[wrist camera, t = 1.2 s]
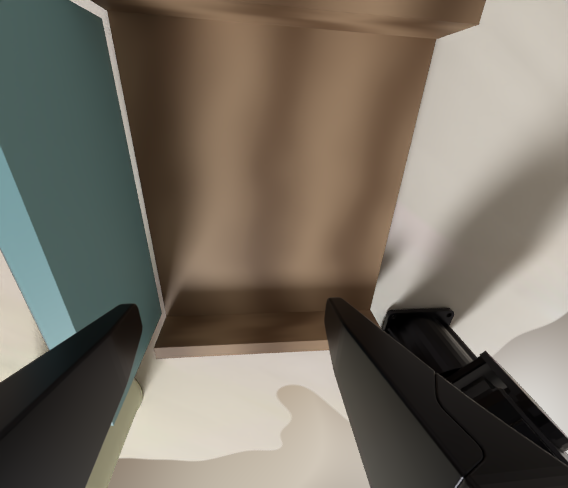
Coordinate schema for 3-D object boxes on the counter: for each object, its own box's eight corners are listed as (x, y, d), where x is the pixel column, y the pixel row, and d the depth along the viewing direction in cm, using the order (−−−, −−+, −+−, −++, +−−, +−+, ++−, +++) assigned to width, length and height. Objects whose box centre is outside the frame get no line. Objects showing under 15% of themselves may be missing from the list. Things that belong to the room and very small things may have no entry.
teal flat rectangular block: (102, 18, 12) (-96, -93, 5) (161, 313, 20) (113, 425, 13) (63, 15, 12) (-193, -103, 5) (139, 314, 20) (78, 428, 13)
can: (75, 429, 29) (-29, 622, 18) (13, 374, 24) (-173, 586, 14) (159, 408, 28) (104, 589, 18) (111, 348, 24) (1, 542, 13)
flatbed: (420, 24, 15) (487, -7, 11) (359, 303, 25) (382, 347, 20) (120, -3, 14) (58, -54, 9) (174, 309, 23) (156, 358, 18)
